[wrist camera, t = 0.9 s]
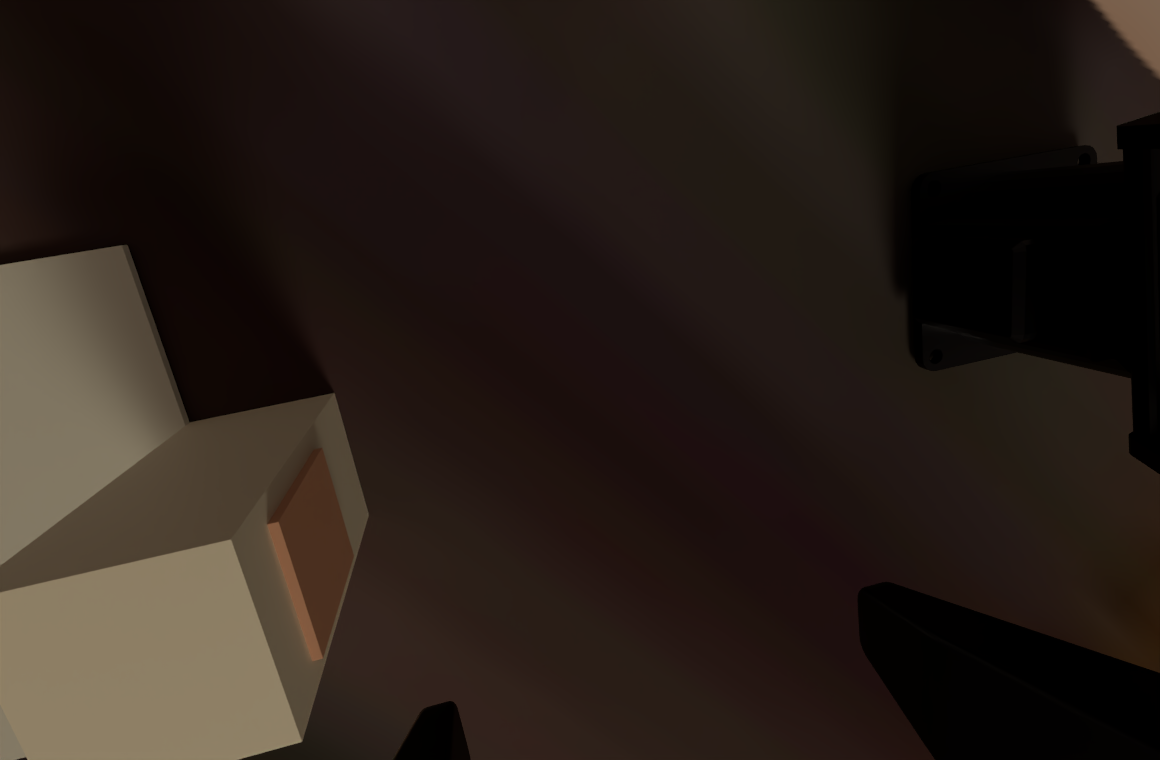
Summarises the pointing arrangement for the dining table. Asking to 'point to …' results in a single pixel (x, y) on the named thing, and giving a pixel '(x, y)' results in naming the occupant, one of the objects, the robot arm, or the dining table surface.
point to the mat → (74, 392)
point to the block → (187, 595)
